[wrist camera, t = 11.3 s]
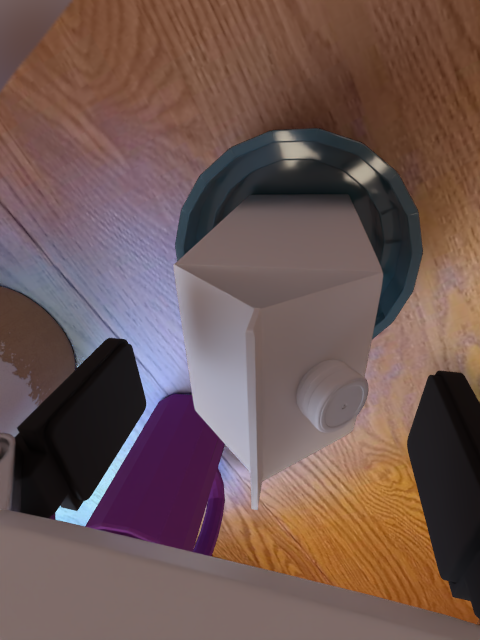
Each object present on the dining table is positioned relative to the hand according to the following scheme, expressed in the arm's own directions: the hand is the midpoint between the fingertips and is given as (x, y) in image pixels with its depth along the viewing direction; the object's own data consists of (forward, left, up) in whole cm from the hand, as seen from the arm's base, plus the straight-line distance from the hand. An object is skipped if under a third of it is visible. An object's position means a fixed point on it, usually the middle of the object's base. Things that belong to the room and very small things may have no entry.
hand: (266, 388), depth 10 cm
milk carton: (0, 0, -17) cm, 17 cm away
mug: (+25, -10, -18) cm, 33 cm away
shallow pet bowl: (0, 0, -18) cm, 18 cm away
